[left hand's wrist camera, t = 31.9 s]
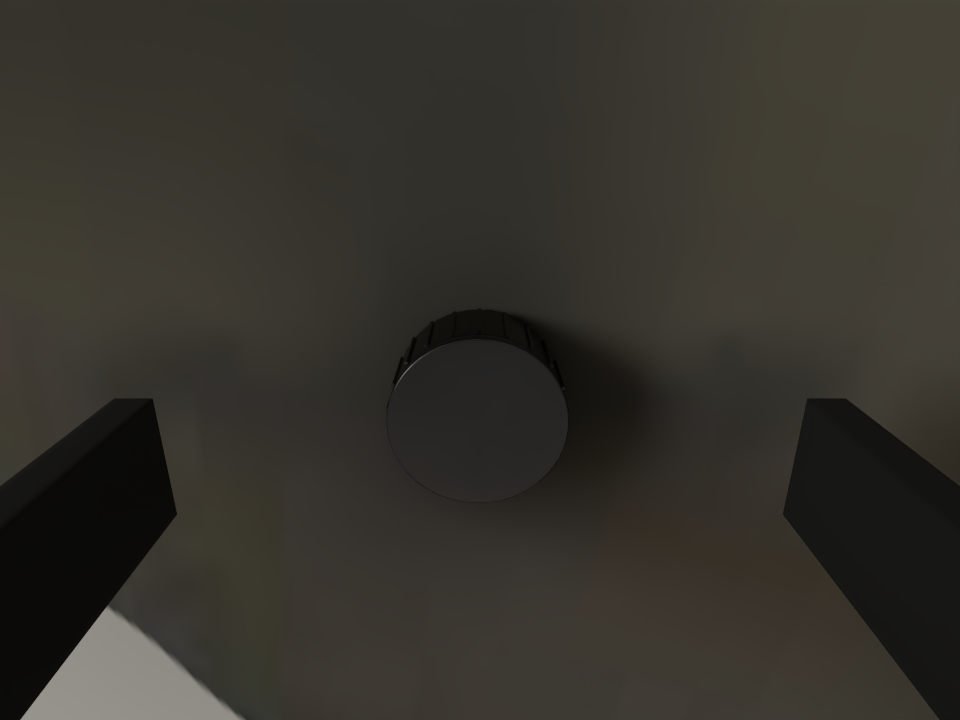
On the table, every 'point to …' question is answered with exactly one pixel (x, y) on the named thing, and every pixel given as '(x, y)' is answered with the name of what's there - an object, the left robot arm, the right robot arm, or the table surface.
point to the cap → (477, 407)
